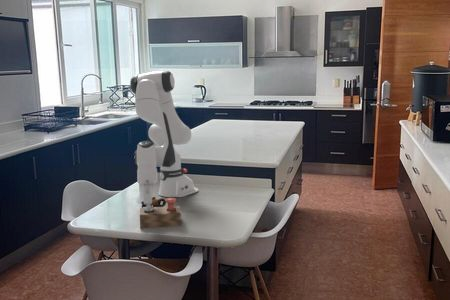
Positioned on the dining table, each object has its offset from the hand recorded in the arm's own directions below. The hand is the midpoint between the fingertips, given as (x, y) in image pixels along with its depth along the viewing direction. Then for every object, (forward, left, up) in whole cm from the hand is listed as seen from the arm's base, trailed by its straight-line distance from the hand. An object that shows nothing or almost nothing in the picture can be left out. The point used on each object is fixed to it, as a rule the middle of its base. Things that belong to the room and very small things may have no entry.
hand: (148, 207), depth 209 cm
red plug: (-9, +5, -3) cm, 11 cm away
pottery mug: (-11, -14, -8) cm, 19 cm away
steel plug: (0, 0, -7) cm, 7 cm away
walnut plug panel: (-4, +3, -7) cm, 9 cm away
